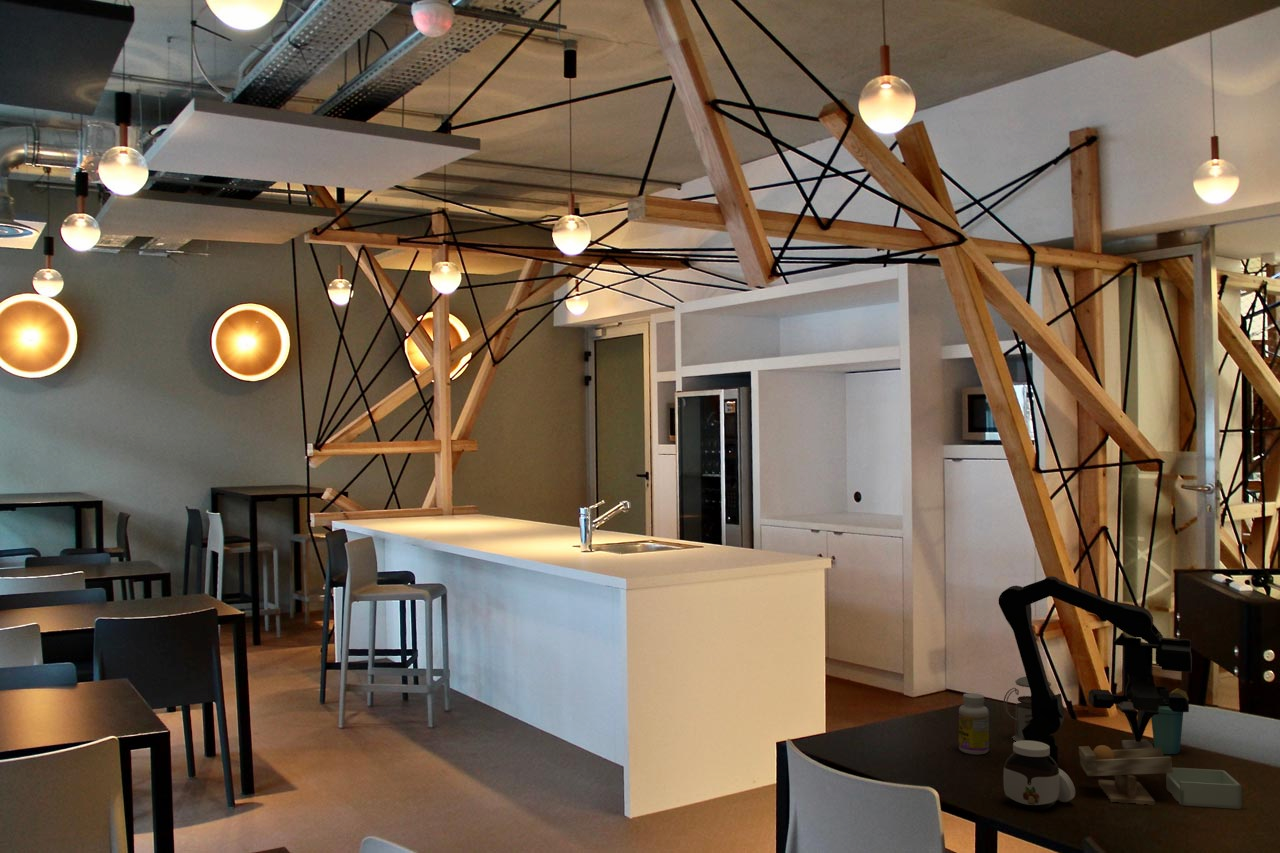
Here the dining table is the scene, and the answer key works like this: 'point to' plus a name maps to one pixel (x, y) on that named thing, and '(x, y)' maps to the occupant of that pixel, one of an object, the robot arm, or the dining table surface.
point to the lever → (1127, 760)
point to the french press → (1021, 713)
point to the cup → (1168, 728)
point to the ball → (1103, 752)
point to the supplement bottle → (973, 725)
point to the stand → (1126, 790)
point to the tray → (1204, 788)
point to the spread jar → (1035, 777)
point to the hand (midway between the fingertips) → (1137, 741)
